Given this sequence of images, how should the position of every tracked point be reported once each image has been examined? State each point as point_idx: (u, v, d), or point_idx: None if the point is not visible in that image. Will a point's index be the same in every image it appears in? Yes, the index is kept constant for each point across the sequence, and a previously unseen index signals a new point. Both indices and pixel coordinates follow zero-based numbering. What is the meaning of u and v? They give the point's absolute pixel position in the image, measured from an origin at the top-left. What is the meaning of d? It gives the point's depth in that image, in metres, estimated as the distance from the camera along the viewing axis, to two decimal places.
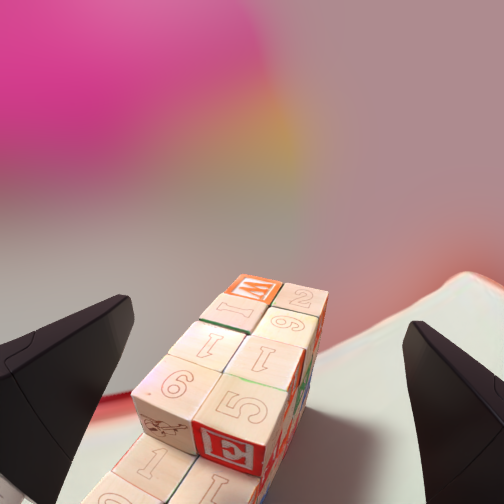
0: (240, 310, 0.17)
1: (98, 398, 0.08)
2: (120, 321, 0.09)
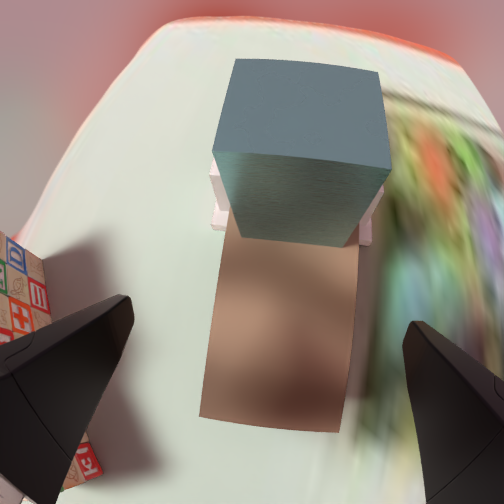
0: None
1: (98, 398, 0.08)
2: (120, 321, 0.09)
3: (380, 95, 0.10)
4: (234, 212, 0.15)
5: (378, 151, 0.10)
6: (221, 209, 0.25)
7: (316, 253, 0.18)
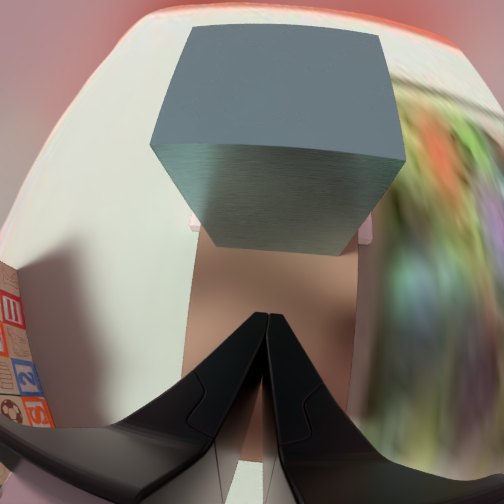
0: None
1: (246, 430, 0.07)
2: None
3: (383, 62, 0.07)
4: (200, 220, 0.12)
5: (386, 135, 0.07)
6: None
7: (307, 259, 0.15)
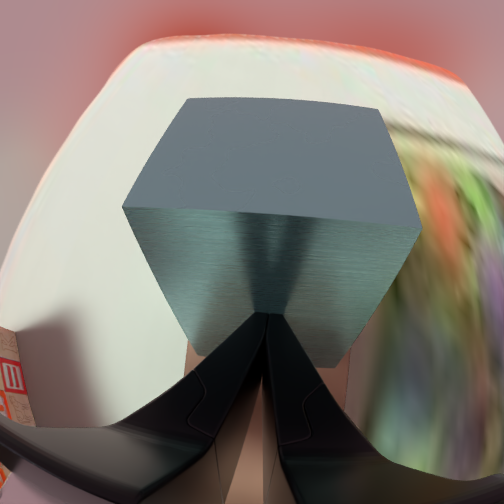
0: None
1: (246, 430, 0.07)
2: None
3: (386, 132, 0.07)
4: (179, 319, 0.10)
5: (397, 202, 0.06)
6: None
7: None
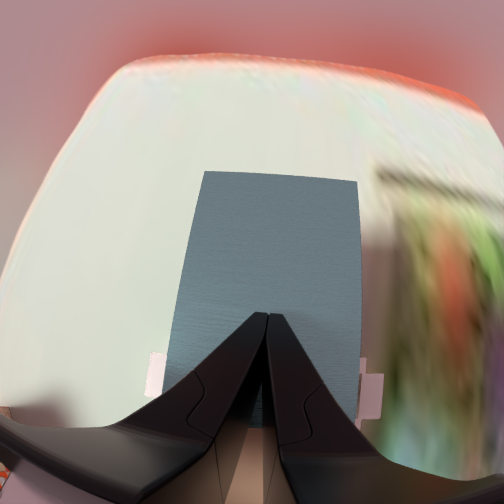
0: None
1: (246, 430, 0.07)
2: None
3: None
4: (179, 300, 0.10)
5: None
6: None
7: None
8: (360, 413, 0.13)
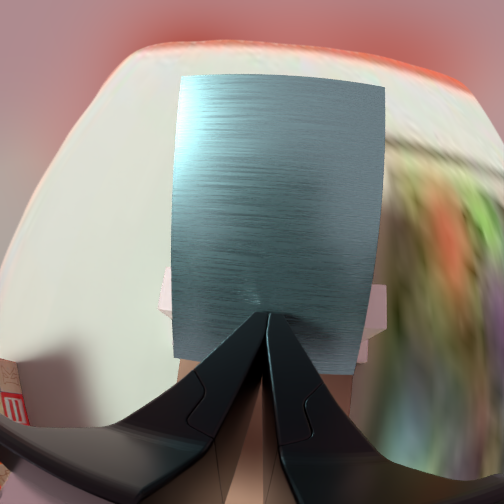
0: None
1: (246, 430, 0.07)
2: None
3: None
4: (173, 248, 0.09)
5: None
6: None
7: None
8: (367, 322, 0.15)
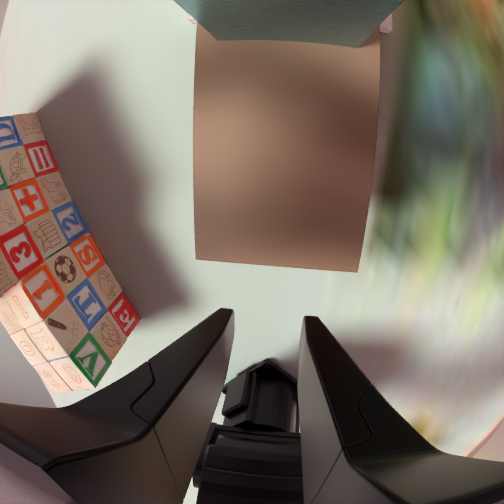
0: None
1: (208, 425, 0.07)
2: (229, 338, 0.08)
3: None
4: (194, 16, 0.08)
5: None
6: None
7: (322, 47, 0.11)
8: None
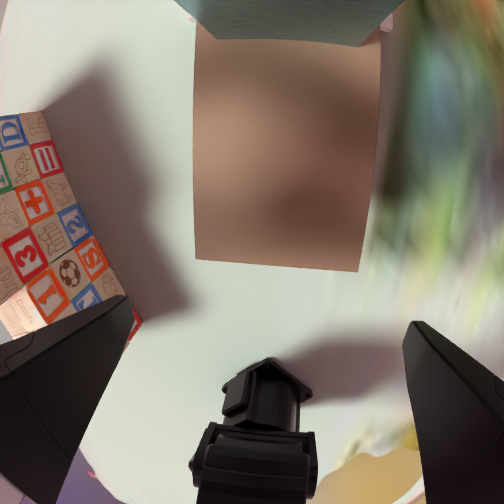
0: None
1: (98, 398, 0.08)
2: (120, 321, 0.09)
3: None
4: (193, 15, 0.08)
5: None
6: None
7: (322, 46, 0.11)
8: None
